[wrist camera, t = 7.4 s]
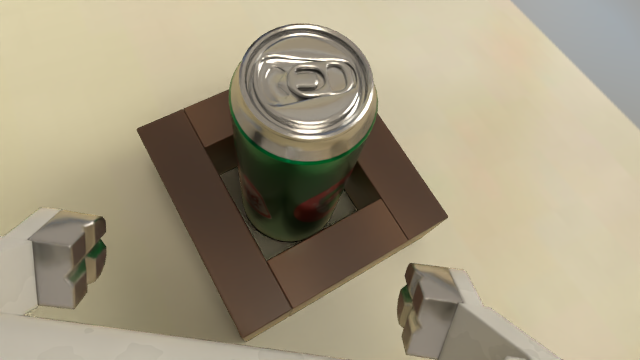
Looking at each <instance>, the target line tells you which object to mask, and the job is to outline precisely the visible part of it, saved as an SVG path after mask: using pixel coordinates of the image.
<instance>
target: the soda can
mask: <svg viewBox="0 0 640 360" xmlns="http://www.w3.org/2000/svg"><path fill="white" fill-rule="evenodd" d="M229 108H230V115H231V122H232V129H233V136H234V143H235V150H236V157H237V164H238V171H239V178H240V185H241V192H242V200H243V205H244V209H245V212H246V215H247V216H248V218H249V220H250V221H251V223H252V224H253V225H254V226H255V227H256V228H257V229H258V230H259V231H260V232H262V233H263V234H265V235H266V236H269V237H271V238H273V239H277V240H281V241H298V240H303V239H305V238H308V237H311V236H312V235H314V234H316V233H317V232H318V231H320V230H321V229H322V228H323V227H324V226H325V225H326V224H327V222H328V221H329V219H330V217H331V215H332V213H333V211H334V209H335V207H336V205H337V203H338V200H339V198H340V196H341V194H342V192H343V190H344V188H345V186H346V183H347V181H348V179H349V177H350V175H351V173H352V171H353V168H354V166H355V164H356V162H357V160H358V158H359V156H360V154H361V151H362V149H363V147H364V145H365V143H366V141H367V139H368V137H369V134H370V132H371V130H372V128H373V125H374V123H375V120H376V116H377V111H378V98H377V91H376V88H375V84H374V81H373V74H372V71H371V68H370V65H369V63H368V61H367V59H366V57H365V56H364V54H363V53H362V51H361V50H360V49H359V48H358V47H357V46H356V45H355V44H354V43H353V42H352V41H351V40H349V39H348V38H347V37H345V36H344V35H342V34H340V33H338V32H337V31H334V30H332V29H329V28H326V27H323V26H319V25H313V24H291V25H285V26H282V27H278V28H276V29H273V30H271V31H269V32H267V33H265V34H264V35H262V36H261V37H259V38H258V39H257V40H256V41H255V42H254V43H253V44H252V45H251V46H250V47H249V48H248V50H247V52H246V53H245V55H244V57H243V59H242V61H241V62H240V63H239V65H238V66H237V68H236V70H235V72H234V74H233V76H232V79H231V82H230V87H229Z"/></svg>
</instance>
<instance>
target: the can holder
mask: <svg viewBox="0 0 640 360" xmlns="http://www.w3.org/2000/svg"><path fill="white" fill-rule="evenodd" d="M137 132H138V134H139V136H140V138H141V140H142V142H143V144H144V146H145V148H146V150H147V152H148V154H149V156H150V158H151V160H152V162H153V163H154V165H155V167H156V169H157V171H158V173H159V175H160V177H161V179H162V181H163V183H164V185H165V187H166V189H167V191H168V193H169V195H170V197H171V199H172V201H173V203H174V205H175V207H176V209H177V211H178V213H179V215H180V217H181V219H182V221H183V223H184V225H185V227H186V229H187V231H188V233H189V235H190V237H191V239H192V241H193V243H194V245H195V247H196V249H197V251H198V253H199V255H200V257H201V259H202V261H203V263H204V265H205V267H206V269H207V270H208V272H209V274H210V276H211V278H212V280H213V282H214V284H215V286H216V288H217V290H218V292H219V294H220V296H221V298H222V300H223V302H224V304H225V306H226V308H227V310H228V312H229V314H230V316H231V318H232V320H233V322H234V324H235V326H236V328H237V330H238V332H239V334H240V336H241V338H242V339H244V340H245V341H246V342H247V341H249V340H251V339H252V338H254V337H256V336H257V335H259V334H261V333H262V332H264V331H266V330H267V329H269V328H271V327H272V326H274V325H276V324H277V323H279V322H281V321H282V320H284V319H286V318H287V317H288V316H291V315H293V314H294V313H296V312H298V311H299V310H301V309H303V308H304V307H306V306H308V305H309V304H311V303H313V302H314V301H316V300H318V299H319V298H321V297H323V296H324V295H326V294H328V293H329V292H331V291H333V290H335V289H336V288H338V287H340V286H341V285H343V284H345V283H346V282H348V281H350V280H351V279H353V278H355V277H356V276H358V275H360V274H361V273H363V272H365V271H366V270H368V269H370V268H371V267H373V266H375V265H376V264H378V263H380V262H382V261H383V260H385V259H387V258H388V257H390V256H392V255H393V254H395V253H397V252H398V251H400V250H402V249H403V248H405V247H407V246H408V245H410V244H412V243H413V242H415V241H417V240H418V239H420V238H422V237H423V236H424V235H426V234H427V233H428V232H430V231H431V230H432V229H434V228H435V227H436V226H438V225H439V224H440V223H441V222H443V221H444V220H445V219H447V218H448V215H447V214H446V212H445V211H444V210H443V208H442V207H441V205H440V204H439V202H438V201H437V199H436V198H435V196H434V195H433V193H432V192H431V191H430V189H429V188H428V186H427V185H426V183H425V182H424V180H423V179H422V177H421V176H420V175H419V173H418V172H417V170H416V169H415V167H414V166H413V164H412V163H411V161H410V160H409V158H408V157H407V156H406V154H405V153H404V151H403V150H402V148H401V147H400V145H399V144H398V142H397V141H396V139H395V138H394V137H393V135H392V134H391V132H390V131H389V129H388V128H387V126H386V125H385V123H384V122H383V121H382V119H381V118H380V116H379V115H378V113H377V116H376V120H375V123H374V125H373V128H372V130H371V132H370V134H369V137H368V139H367V141H366V143H365V145H364V147H363V149H362V151H361V154H360V156H359V158H358V160H357V162H356V164H355V166H354V168H353V171H352V173H351V175H350V177H349V179H348V181H347V183H346V186H345V188H344V189H345V190H346V192H347V194H348V195H349V197H350V198H351V200H352V202H353V203H354V205H355V206H356V208H357V210H358V211H356V212H355V213H353V214H351V215H349V216H347V217H345V218H344V219H342V220H340V221H338V222H336V223H335V224H333V225H331V226H329V227H327V228H325V229H324V230H322V231H320V232H318V233H316V234H314V235H313V236H311V237H309V238H307V239H305V240H304V241H302V242H300V243H298V244H296V245H294V246H293V247H291V248H289V249H287V250H285V251H284V252H282V253H280V254H278V255H276V256H274V257H273V258H271V259H269V260H267V262H266V260H265V258H264V256H263V254H262V252H261V251H260V249H259V247H258V245H257V243H256V241H255V240H254V238H253V236H252V234H251V232H250V230H249V229H248V227H247V225H246V223H245V221H244V219H243V218H242V216H241V214H240V212H239V210H238V209H237V207H236V205H235V203H234V201H233V199H232V198H231V196H230V194H229V192H228V190H227V188H226V187H225V185H224V183H223V181H222V179H221V177H220V176H219V175H220V174H222V173H224V172H226V171H229V170H231V169H233V168H235V167H237V166H238V164H237V157H236V150H235V143H234V136H233V129H232V122H231V115H230V108H229V90H227V91H224V92H222V93H219V94H217V95H215V96H212V97H210V98H208V99H205V100H203V101H200V102H198V103H196V104H193V105H191V106H189V107H186V108H184V110H180V111H177V112H175V113H173V114H170V115H168V116H165V117H163V118H161V119H158V120H156V121H154V122H151V123H149V124H146V125H144V126H142V127H139V128H137Z"/></svg>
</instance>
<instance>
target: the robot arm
mask: <svg viewBox="0 0 640 360" xmlns="http://www.w3.org/2000/svg"><path fill="white" fill-rule="evenodd" d="M105 232H106V222H105V219H104V218H103V216H97V215H91V214H85V213H79V212H73V211H67V210H62V209H55V208H47V207H40V208H39V209H38V210H36V211H35V212H34V213H33V214H31V215H30V216H29V217H28V218H26V219H25V220H24V221H22V222H21V223H20V224H19V225H17V226H16V227H15V228H14V229H12V230H11V231H10V232H8V233H7V234H6V235H5V236H3V237H2V236H0V360H350V359H342V358H335V357H328V356H320V355H313V354H305V353H298V352H290V351H283V350H275V349H268V348H261V347H253V346H246V345H238V344H231V343H223V342H216V341H209V340H201V339H194V338H186V337H179V336H171V335H164V334H157V333H149V332H142V331H134V330H127V329H120V328H112V327H105V326H97V325H90V324H82V323H75V322H68V321H60V320H53V319H45V318H38V317H30V316H23V315H24V314H26V313H28V312H30V311H32V310H33V309H35V308H37V307H38V305H39V306H48V307H57V308H66V309H75V308H76V306H77V305H78V304H79V302H80V301H81V300H82V299H83V297H84V296H85V295H86V293H87V285H88V284H91V283H93V282H95V281H96V280H97V279H98V277H99V276H100V275H101V272H102V270H103V267H104V265H105V260H106V245H105V244H104V243H103V241H102V240H101V239H100V238H101V237H102V236H103V235H104V234H105ZM405 279H406V283H407V285H406V286H404V287H403V288H402V289H401V290H400V294H399V298H398V305H397V318H398V322H399V325H400V326H401V327H403V328H404V329H403V333H402V340H403V344H404V349H405V353H406V355H411V356H417V357H423V358H429V359H435V360H562V359H561V358H560V357H558V356H557V355H555V354H554V353H553V352H551V351H550V350H548V349H547V348H546V347H544V346H543V345H542V344H540V343H539V342H537V341H536V340H535V339H533V338H532V337H530V336H529V335H528V334H526V333H525V332H524V331H522V330H521V329H519V328H518V327H517V326H515V325H514V324H512V323H511V322H510V321H508V320H507V319H506V318H504V317H503V316H501V315H500V314H499V313H497V312H496V311H494V310H493V309H492V308H490V307H485V306H484V305H483V303H482V301H481V299H480V297H479V295H478V293H477V291H476V289H475V287H474V285H473V283H472V281H471V279H470V277H469V275H468V273H467V272H466V271H465V270H464V269H456V268H447V267H439V266H431V265H423V264H414V263H410V264H409V265H408V267H407V270H406V273H405Z"/></svg>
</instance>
